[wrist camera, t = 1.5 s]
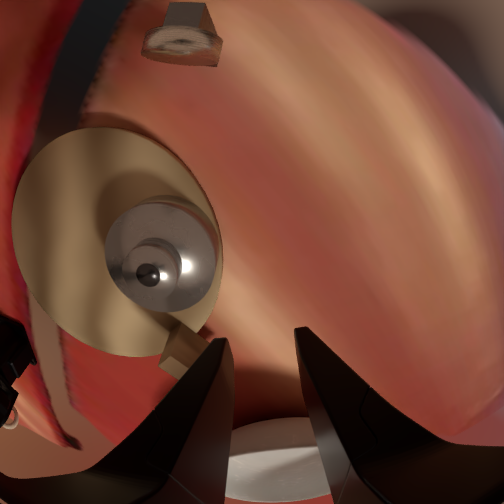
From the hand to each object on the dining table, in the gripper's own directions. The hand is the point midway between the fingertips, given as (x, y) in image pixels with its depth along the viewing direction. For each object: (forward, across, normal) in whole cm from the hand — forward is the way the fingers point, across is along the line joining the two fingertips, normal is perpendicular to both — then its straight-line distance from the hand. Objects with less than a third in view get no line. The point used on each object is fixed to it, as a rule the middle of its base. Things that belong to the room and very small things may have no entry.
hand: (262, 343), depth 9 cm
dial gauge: (+12, +1, -12) cm, 17 cm away
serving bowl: (+12, +1, +28) cm, 31 cm away
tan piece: (+12, +12, 0) cm, 17 cm away
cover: (+10, +6, 0) cm, 12 cm away
